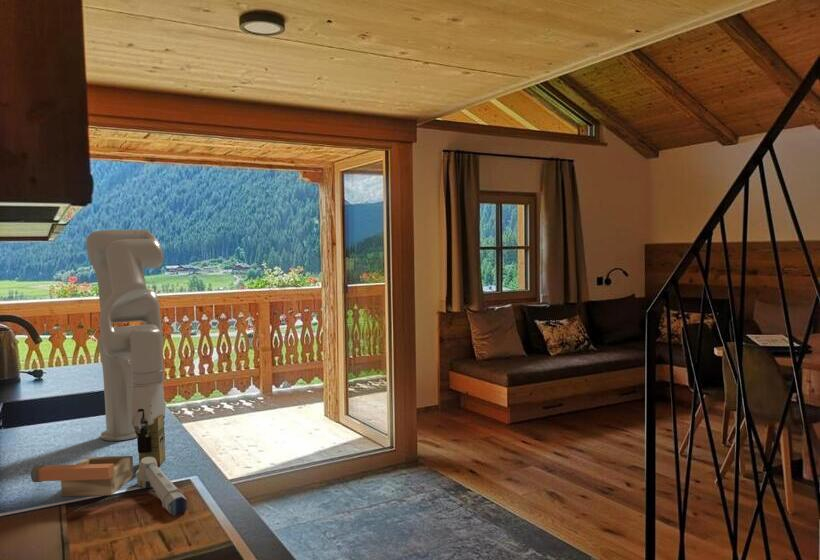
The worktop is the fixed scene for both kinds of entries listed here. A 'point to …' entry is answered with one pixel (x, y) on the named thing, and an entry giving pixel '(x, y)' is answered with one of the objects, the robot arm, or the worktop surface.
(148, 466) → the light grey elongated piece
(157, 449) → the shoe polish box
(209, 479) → the worktop surface
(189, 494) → the worktop surface
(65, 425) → the worktop surface
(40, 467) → the bar
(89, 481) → the socket
